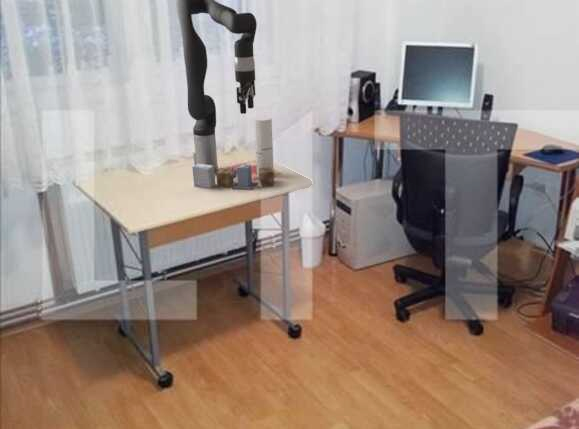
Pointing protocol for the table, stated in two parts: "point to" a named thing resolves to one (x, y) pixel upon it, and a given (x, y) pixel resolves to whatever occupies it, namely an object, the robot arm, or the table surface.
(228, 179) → the bearing block
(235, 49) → the robot arm
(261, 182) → the bearing block
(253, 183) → the pad
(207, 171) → the medicine box
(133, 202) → the table surface
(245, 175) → the block
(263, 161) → the cylindrical container
